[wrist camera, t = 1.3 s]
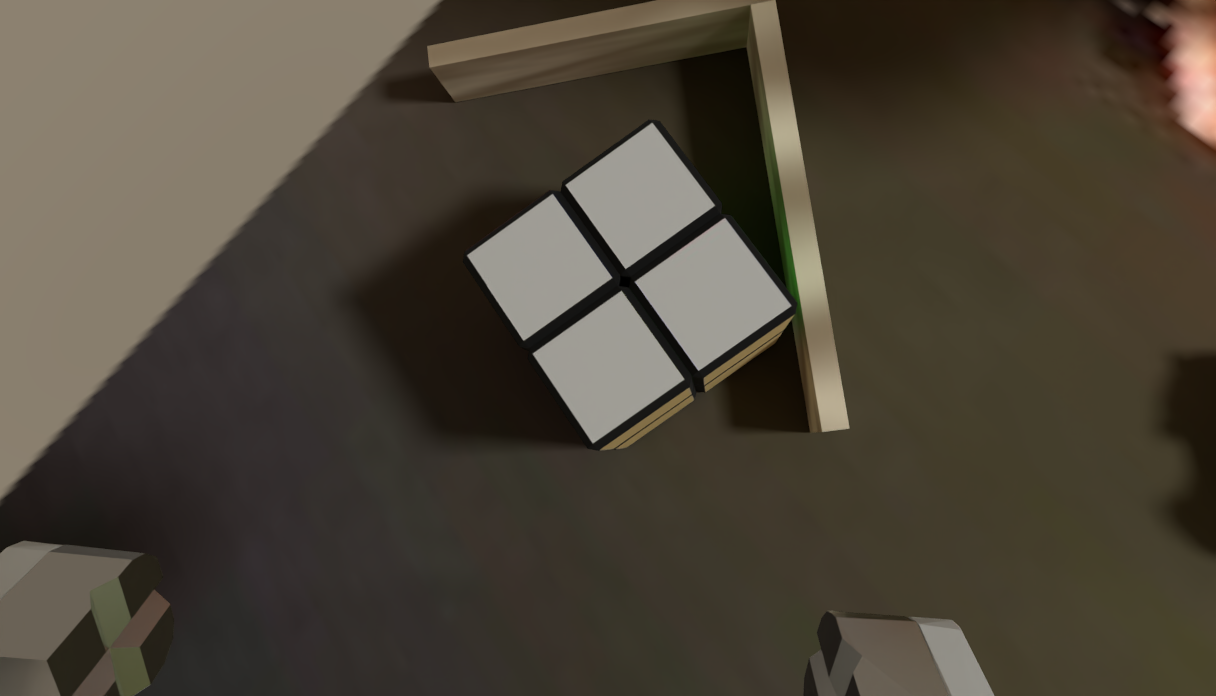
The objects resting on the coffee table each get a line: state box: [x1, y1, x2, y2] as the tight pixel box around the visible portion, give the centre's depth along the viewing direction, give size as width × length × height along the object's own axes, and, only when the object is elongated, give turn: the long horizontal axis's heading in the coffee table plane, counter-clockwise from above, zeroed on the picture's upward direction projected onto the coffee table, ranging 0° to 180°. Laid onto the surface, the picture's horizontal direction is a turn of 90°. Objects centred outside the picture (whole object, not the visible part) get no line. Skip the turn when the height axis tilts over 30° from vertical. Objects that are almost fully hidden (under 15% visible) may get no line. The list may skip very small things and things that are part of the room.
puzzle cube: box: [463, 120, 797, 451], centre depth 34 cm, size 10×10×10 cm
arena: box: [427, 0, 849, 433], centre depth 38 cm, size 22×18×4 cm
